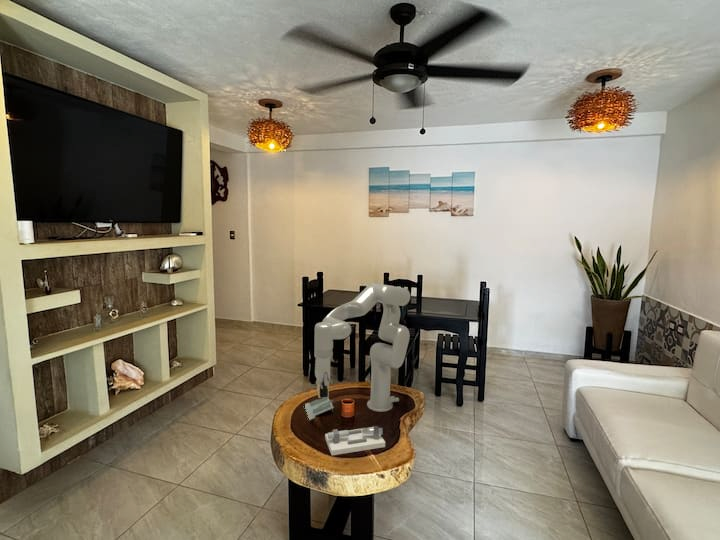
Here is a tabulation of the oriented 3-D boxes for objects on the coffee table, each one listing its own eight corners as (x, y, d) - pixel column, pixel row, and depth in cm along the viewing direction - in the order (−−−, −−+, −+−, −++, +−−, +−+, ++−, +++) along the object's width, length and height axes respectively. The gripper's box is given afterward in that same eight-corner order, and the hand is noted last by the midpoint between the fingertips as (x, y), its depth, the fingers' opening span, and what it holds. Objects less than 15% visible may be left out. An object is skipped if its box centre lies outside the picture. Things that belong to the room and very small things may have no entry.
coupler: (328, 392, 156) (328, 376, 155) (330, 396, 152) (330, 380, 152) (315, 394, 154) (315, 378, 154) (317, 398, 151) (317, 382, 150)
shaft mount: (375, 431, 157) (375, 418, 157) (385, 446, 146) (385, 433, 145) (325, 438, 151) (325, 425, 150) (331, 455, 140) (331, 441, 139)
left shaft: (362, 439, 147) (362, 430, 147) (362, 434, 151) (362, 425, 151) (382, 439, 148) (382, 430, 147) (381, 434, 151) (382, 425, 151)
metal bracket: (328, 391, 182) (335, 405, 168) (331, 402, 183) (338, 416, 169) (300, 402, 178) (305, 417, 164) (303, 413, 179) (308, 429, 165)
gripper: (311, 346, 158) (310, 387, 160) (318, 360, 142) (317, 404, 144) (328, 345, 160) (327, 385, 162) (336, 358, 144) (335, 402, 146)
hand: (322, 394), depth 153 cm, fingers closed on coupler, 4 cm apart
